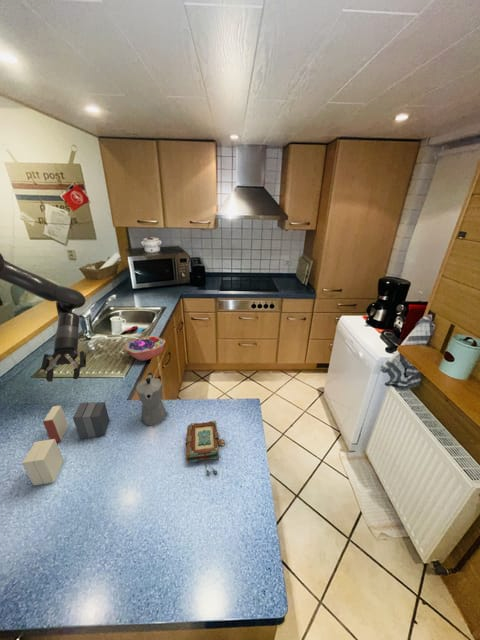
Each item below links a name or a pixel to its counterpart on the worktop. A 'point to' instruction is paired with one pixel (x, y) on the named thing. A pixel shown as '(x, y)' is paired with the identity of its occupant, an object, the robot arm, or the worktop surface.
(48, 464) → the cream box
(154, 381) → the coffeepot
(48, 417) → the cream red flat block
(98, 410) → the dark grey striped block
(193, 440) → the decorative book
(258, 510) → the worktop surface
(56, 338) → the robot arm
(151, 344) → the cell model
